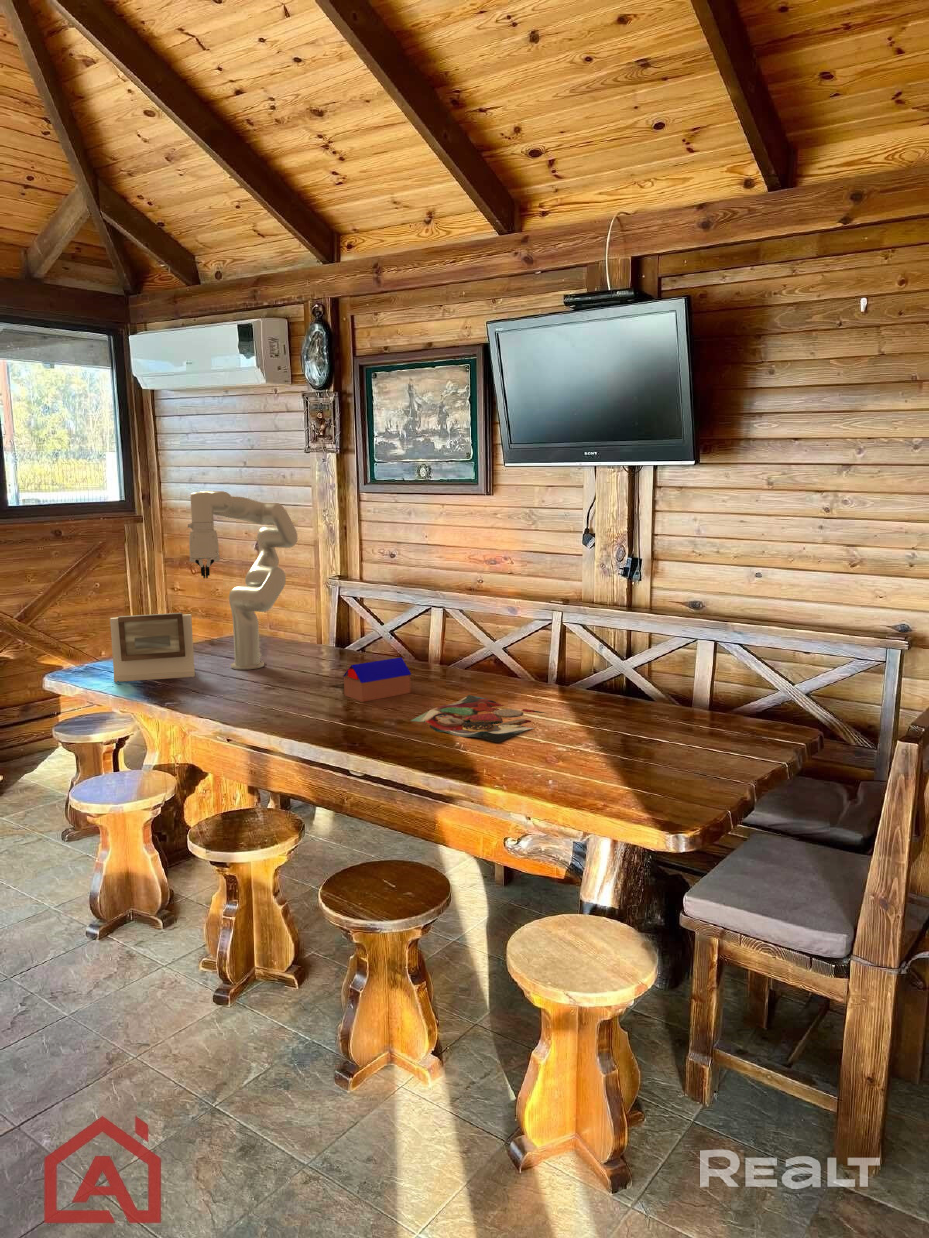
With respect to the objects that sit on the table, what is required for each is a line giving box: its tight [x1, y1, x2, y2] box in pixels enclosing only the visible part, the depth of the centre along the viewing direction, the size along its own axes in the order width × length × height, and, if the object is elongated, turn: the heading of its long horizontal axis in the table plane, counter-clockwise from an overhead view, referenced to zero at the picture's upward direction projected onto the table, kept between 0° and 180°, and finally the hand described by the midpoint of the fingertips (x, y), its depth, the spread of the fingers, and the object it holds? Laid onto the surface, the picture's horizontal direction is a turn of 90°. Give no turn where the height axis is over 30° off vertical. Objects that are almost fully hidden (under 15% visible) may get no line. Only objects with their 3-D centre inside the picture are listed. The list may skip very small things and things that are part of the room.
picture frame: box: [117, 612, 185, 661], centre depth 331 cm, size 2×22×16 cm, turn 106°
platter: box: [410, 694, 549, 744], centre depth 278 cm, size 35×36×2 cm
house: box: [342, 656, 412, 703], centre depth 310 cm, size 12×20×12 cm, turn 128°
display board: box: [109, 613, 196, 683], centre depth 336 cm, size 8×28×23 cm, turn 106°
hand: (205, 577), depth 330 cm, fingers closed
